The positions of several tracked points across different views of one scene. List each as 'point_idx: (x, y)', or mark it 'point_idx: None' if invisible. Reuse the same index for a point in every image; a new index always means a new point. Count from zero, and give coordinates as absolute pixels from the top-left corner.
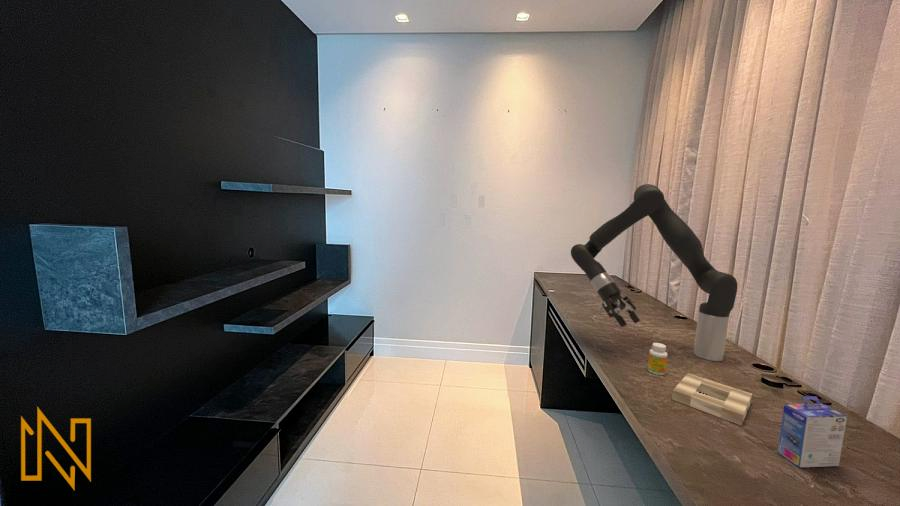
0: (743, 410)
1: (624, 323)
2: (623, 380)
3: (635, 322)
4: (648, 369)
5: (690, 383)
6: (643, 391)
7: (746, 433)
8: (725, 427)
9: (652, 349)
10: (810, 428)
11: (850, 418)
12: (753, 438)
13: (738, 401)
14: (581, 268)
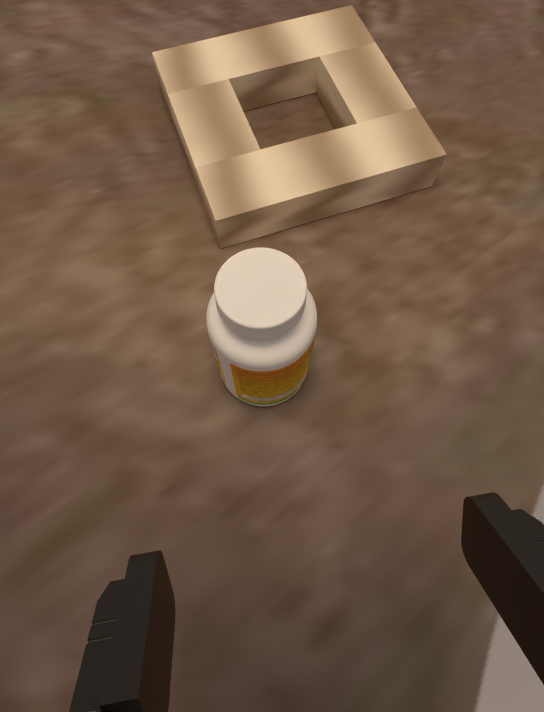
0: (319, 15)
1: (503, 509)
2: (526, 358)
3: (172, 596)
4: (304, 379)
5: (311, 162)
6: (503, 260)
7: (372, 25)
8: (405, 53)
9: (288, 335)
10: None
11: None
12: (377, 11)
13: (270, 43)
14: None
